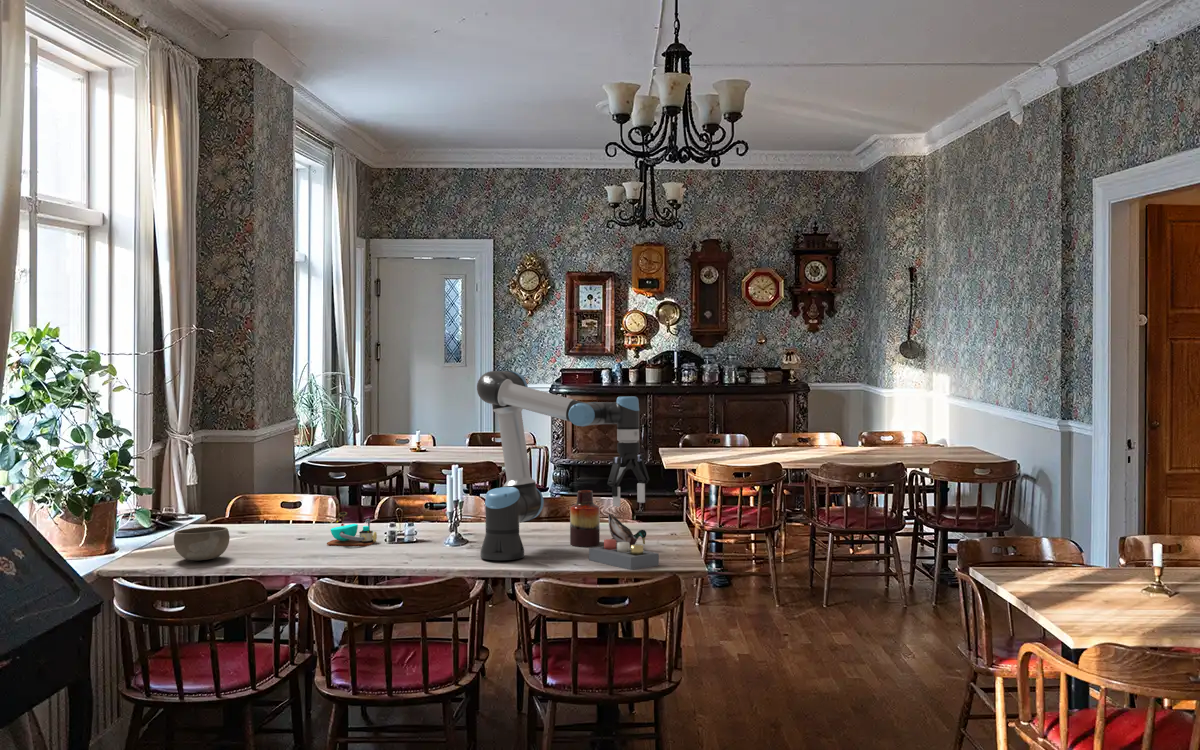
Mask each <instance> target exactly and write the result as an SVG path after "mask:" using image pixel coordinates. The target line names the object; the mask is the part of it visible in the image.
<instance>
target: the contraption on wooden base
mask: <svg viewBox="0 0 1200 750" xmlns="http://www.w3.org/2000/svg"><path fill="white" fill-rule="evenodd" d="M347 516H348V512H347V511H341V512H339V513H338V518H337V521H336V523H339V519H340V517H341V518H343V519H342V523H340V526H336V527H332V528H330V532H331V535H332V537H333V538H334V539H332V540H330V541H328V542H326V546H327V547H368V546H372V545H373V544H375V543H376V542H377V540H378V539H377V538H378V537H377V536H378V535H377V534H378V533H377V532H376V531H373V530H371V528H370V527H371V523H370V522H371V521H370V518H367V519H365V524H367V525H363V526H362V530H361V531H359V532H358V528H359V525H358V524H357V523H352V524H347V525H345V523H344V520H345V517H347ZM357 533H359V536H357Z"/></svg>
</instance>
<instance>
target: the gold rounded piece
mask: <svg viewBox="0 0 1200 750" xmlns="http://www.w3.org/2000/svg"><path fill="white" fill-rule="evenodd" d="M643 550H644V544H636V543H635V545H631V555H635V556H638V555H643Z"/></svg>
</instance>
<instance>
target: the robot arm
mask: <svg viewBox="0 0 1200 750" xmlns="http://www.w3.org/2000/svg"><path fill="white" fill-rule="evenodd" d="M476 392H477V395H478V396H479V398H480V399H481V400H482V401H483V402H485V403H487V404H490V405H491V406H492V412H494V413H495V414H497V419H498V426H499V432H500V433H499V435H500V440H501V441H500V442H501V448H502V455H503V462H504V470H505V476H506V477H505V478H506V482H505V483H504V484H503V486H501V487H496V488H492V489H490V490H488V491H487V492H486V494H485V502H484V505H485V507H484V508H485V509H484V510H485V536H484V539H483V542H482V545H481V548H480V558H481V559H483V560H487V561H489V560H490V561H511V560H512V561H513V560H519V559H522V558H524V557H525V548H524V544H523V542H522V539H521V535H520V523H523V522H528V521H531V520H533V519H535V518H537V517H538V516H539V515H540V514H541V512H542V511H543V508H544V502H545V501H544V495H543V494H542V492H541V491H540V490H539V489H538V488H537V484H536V481H535V479H534V478H532V476H531V471H530V464H529V457H528V456H529V455H528V449H527V442H526V437H525V435H526V433H525V429H524V422H523V413H522V411H523V410H526V411H530V412H534V413H537V414H540V415H545V416H548V417H551V418H555V419H559V420H563V421H565V422H566V421H567V422H570V423H572V424H573V425H574V426H578V427H587V426H595V425H616V428H617V429H616V438H617V439H616V440H617V441H618V442H617V444H616V445H617V446H616V449H617V453H618V454H619V456H614V457H613V460H612V466H611V469H610V474H609V476H608V480H607V482H606V483H607V484H606V485H607V486H609V487H611V496H612V506H613V507H618V508H620V507H621V486H620V484H621V482H622V480H623V477H624V475H625V473H626V472H627V471H628V470H631V471H632V472H633V474H634V476H635V478H636V479H637V481H638V483H637V484H636V490H637V491H636V492H637V495H636V496H637V499H636V500H637V501H636V502H637V503H641V504H642V503H643V504H644V503H646V484H648V483H649V481H650V476H649V473H648V469H647V467H646V464H645V459H644V455H643V454H639V453H640V442H639V441H640V406H639V405H640V404H639V398H638V397H637V396H636V395H635V396H632V395H631V396H629V395H628V396H618V397H617V398H616V401H613V402H611V401H610V402H609V401H606V402H605V401H604V402H603V401H601V402H600V401H599V402H598V401H593V402H592V401H591V402H584V401H581V400H576V399H572V398H569V397H565V396H561V395H557V394H554V393H551V392H547V391H542V390H538V389H535V388H530V387H528V383H527V380H526V378H525V377H524V375H521V374H520V373H519V372H517V371H516V372H515V371H513V370H499V371H498V370H491V371H490V370H489V371H487V372H485V373H484V374H482V375H481V376H480V377H479V379H478V380H477V383H476Z"/></svg>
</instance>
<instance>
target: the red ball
mask: <svg viewBox="0 0 1200 750" xmlns="http://www.w3.org/2000/svg"><path fill="white" fill-rule="evenodd" d="M616 543H617V542H616V540H615V539H612V538H607V539H606V538H605V539H604V540H603V546H604V549H607V550H613V549H616V545H617V544H616Z"/></svg>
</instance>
